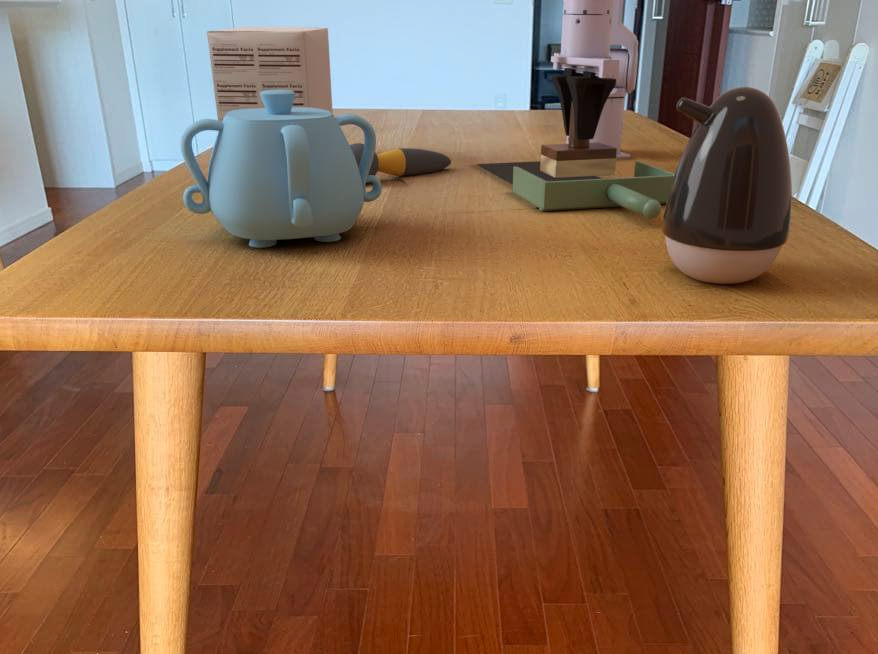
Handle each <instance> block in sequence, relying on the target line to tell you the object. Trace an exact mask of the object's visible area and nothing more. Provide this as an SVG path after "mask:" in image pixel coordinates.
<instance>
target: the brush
mask: <svg viewBox="0 0 878 654" xmlns="http://www.w3.org/2000/svg"><path fill="white" fill-rule="evenodd" d="M540 146H541V148H540V161H541V164H540V171H542V172H544V173H546V174H549V175H551V176H553V177H555V178H562V177H582V176H597V177H599V176H600V177H601V176H615V174H616V163H617V158H616V153H617V148H614V147H611V146H608V145H605V144H602V143H600V142H596V143H590V139H584V140H578V139H576V137H575V130H574V108H573V101H571V112H570V127H569V142H568V144H566V143H550V144H547V143H545V144H541V145H540Z"/></svg>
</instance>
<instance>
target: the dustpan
mask: <svg viewBox="0 0 878 654" xmlns="http://www.w3.org/2000/svg"><path fill="white" fill-rule="evenodd" d="M634 163H635V164H634V173H633V176H631V177H630V176H629V177H613V178H611V177H610V178H601V179H588V180H569V181H549V182H547V181H545V180H543V179H541V178H539V177H537V176H535V175H533V174H531V173H529V172H527V171H525V170H523V169H521V168H519V167H517V166H516V167H513V185H512V193H513V194H515V195H517V196H519V197H521V198H522V199H524V200H525V201H527V202H529V203H531V204H533V206H536V207H535V208H536V209H537V210H539V211H541V212H552V211H554V212H555V211H568V210H569V211H571V210H585V209H586V210H587V209H601V208H602V209H603V208H604V209H605V208H618V207H619V208H620V207H622V208H625V209H627V210H629V211H631V212H633V213H635V214H638V215H640V216H642V217H644V218H646V219H649V220H653V219H656V218H658V217H659V216H660V214H661V212H662V205H666V203H667V200H668V196H669V192H670V188H671V185H672V182H673V178H674V175H675V173H676V172H675V173H674V172H672V171H668V170H666V169H663V168H661V167H657V166H655V165H652V164H649V163H646V162H643V161H641V160H635V162H634Z"/></svg>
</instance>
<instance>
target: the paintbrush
mask: <svg viewBox="0 0 878 654" xmlns="http://www.w3.org/2000/svg"><path fill="white" fill-rule="evenodd" d="M349 145H350V147H351V150H352V152H353V154H354V156H355V159H356V162H357V165H358V168H359V165H360V161H361V158H362V154H363V150H364V143H359V142H357V143H352V144H349ZM451 164H452V160H451V158H450V156H449V157H448V155H445V154H444V153H441V152H438V151H434V150H428V149H420V148H407V147H406V148H405V147H404V148H403V147H402V148H393V149H391V150H387V151H384V152H381V153H378V154H377V152H375V153H374V157H373V161H372V164H371V167H370V171H369V174H368V175H374V176H376V175H377V173H378V172H379V173H381V174H385V175H386V174H387V175H389V176H393V177H411V176H419V175H426V174H432V173H437V172H439V171H442V170H444V169H447V168H448V167H449V166H450V165H451Z"/></svg>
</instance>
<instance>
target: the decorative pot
mask: <svg viewBox="0 0 878 654" xmlns="http://www.w3.org/2000/svg"><path fill="white" fill-rule="evenodd" d="M260 96H261V99H262V101H263V103H264V106H265V108H253V109H239V110H233V111H229V112H227V114H226V115H225V116H224V119H223V121H222V122H221V121H218V119H213V118H202V119H200V120H199V119H198V120H196V121H194V122H192V123H191V124H189V126H187V127H186V128H185V129H184V131H183V133H182V134H181V138H180V152H181V154H182V157H183V161H184V162H185V164H186V167H187V169H188V171H189V173H190V175H191V176H192V178H193V181H194V182H195V184H196V185H190V186H188V187H186V189H185V190H184V192H183V196H182V201H183V203H184V207H185V208H186V209H187V210H188V211H189V212H191V213H194V214H198V215H206V214H208V213H210V212H211V214H212V215H213V216H214V217H215V219H216V221H217V222H218V223H219V224H220V226H222V227H223V229H224V230H225V231H226V232H228V233H230V234H231V235H233V236H236V237H238V238H241V239H246V240H247V239H248V240H249V243H248V246H249V247H251V248H260V249H261V248H269V247H273V246H276V245H277V240H292V239H294V240H295V239H305V238H313V239H314V240H315V241H317V242H323V243H330V242H331V243H332V242H338V241H339V240H340V241H341V239H342V237H341V235H340V234H341V233H345V232H347V231H349V230H350V229H352V228H353V226H354V225H355V223H356V222H357V220H358V219H359V217H360V215H361V213H362V210H363V208H364V204H365V203H371V202H373V201H376V200H377V199H378V198H380V196H381V194H382V191H383V187H382V182H381V180H380V178H379V177H378V176H376V175H375V176H374V175H368V174H369V171H370V167H371V164H372V161H373V157H374V153H376V146H377V136H376V131H375V129H374V127H373V126H372V124H371V123H370V122H369V121H368V120H366V119H365V118H364V117H362V116H360V115H358V114H354V113H343V114H339V115H336V116H335V115H334V113H333V114H332V113H331V112H330V111H327V110H323V109H318V108H308V107H292V105H293V101H294V98H295V92H293V91H291V90H266V91H262V92H260ZM348 125H351V126H352V125H353V126H357V127H359V128H360V129H361V130H362V132H363V137H364V143H363V144H364V150H363V154H362V158H361V161H360V165H359V168H358V165H357V162H356V159H355V156H354V154H353V152H352V150H351V147H350V145H351V144H350V143H349V141H348V139H347V137H346V135H345V132H344V131H343V129H342V127H343V126H348ZM205 131H216V132H217V134H216V138H215V141H214V144H213V148H212V150H211V155H210V157H209V158H210V159H209V164H208V170H207V179H206V177H205V175H204V173H203V171H202V169H201V168H200V166H199V163H198V162H197V159H196V156H195V153H194V150H193V139H194V138H195V136H196V135H198V134H199V133H201V132H205ZM367 183H372V185H373V186H372V189H371V190H370V191H367V190H366V184H367ZM197 193H198V194H201V197H202V201H201V203H197V202H195V201H194V200H193V195H194V194H197Z"/></svg>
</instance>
